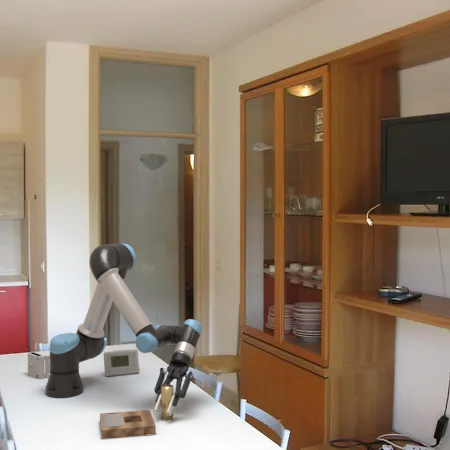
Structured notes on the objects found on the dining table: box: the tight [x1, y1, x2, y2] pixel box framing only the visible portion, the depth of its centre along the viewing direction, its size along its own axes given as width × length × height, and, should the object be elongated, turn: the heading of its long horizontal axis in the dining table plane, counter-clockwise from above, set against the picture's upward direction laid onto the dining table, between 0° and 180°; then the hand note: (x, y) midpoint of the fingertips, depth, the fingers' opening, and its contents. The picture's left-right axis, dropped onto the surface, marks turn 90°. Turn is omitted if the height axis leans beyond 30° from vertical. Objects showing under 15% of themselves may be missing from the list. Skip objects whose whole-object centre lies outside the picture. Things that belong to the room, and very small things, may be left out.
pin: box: [160, 383, 174, 422], centre depth 217 cm, size 4×4×12 cm
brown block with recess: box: [99, 409, 157, 440], centre depth 207 cm, size 18×16×3 cm
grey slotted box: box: [27, 351, 50, 380], centre depth 267 cm, size 14×5×10 cm, turn 59°
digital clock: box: [103, 348, 140, 377], centre depth 273 cm, size 16×9×11 cm, turn 102°
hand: (162, 412), depth 213 cm, fingers closed on pin, 4 cm apart
